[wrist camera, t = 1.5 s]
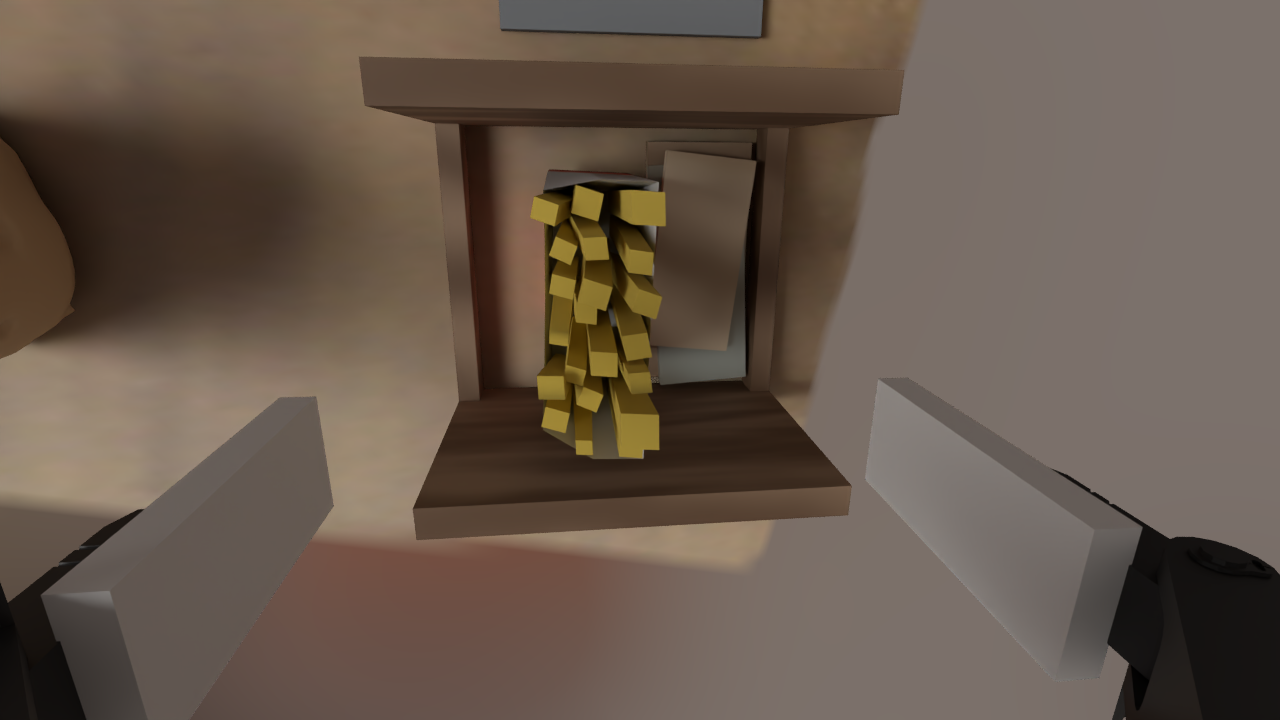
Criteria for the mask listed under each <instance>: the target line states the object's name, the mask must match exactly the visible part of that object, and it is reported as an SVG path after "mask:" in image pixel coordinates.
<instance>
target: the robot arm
mask: <svg viewBox="0 0 1280 720" xmlns="http://www.w3.org/2000/svg"><path fill="white" fill-rule="evenodd" d="M865 480H866V481H867V482H868V483H869V484H870V485H871V486H872V487H873V488H874V489H875V491H877V493H878V494H879V495H880V496H881V497H882V498H883V499H884V500H885V501H886V502H887V503H888V504H889V505H890V506H891V508H892V509H893V510H894V511H895V512H896V513H897V514H898V515H899V516H900V517H901V518H902V519H903V520H904V521H905V523H906V524H907V525H908V526H909V527H910V528H911V529H912V530H913V531H914V532H915V533H916V534H917V535H918V536H919V537H920V538H921V540H922V541H923V542H924V543H925V544H926V545H927V546H928V547H929V548H930V549H931V550H932V551H933V552H934V553H935V555H936V556H937V557H938V558H939V559H940V560H941V561H942V562H943V563H944V564H945V565H946V566H947V567H948V568H949V569H950V571H951V572H952V573H953V574H954V575H955V576H956V577H957V578H958V579H959V580H960V581H961V582H962V583H963V584H964V585H965V586H966V588H967V589H968V590H969V591H970V592H971V593H972V594H973V595H974V596H975V597H976V598H977V599H978V600H979V601H980V602H981V604H982V605H983V606H984V607H985V608H986V609H987V610H988V611H989V612H990V613H991V614H992V615H993V616H994V617H995V618H996V619H997V621H998V622H999V623H1000V624H1001V625H1002V626H1003V627H1004V628H1005V629H1006V630H1007V631H1008V632H1009V633H1010V634H1011V636H1012V637H1013V638H1014V639H1015V640H1016V641H1017V642H1018V643H1019V644H1020V645H1021V646H1022V647H1023V648H1024V649H1025V650H1026V652H1027V653H1028V654H1029V655H1030V656H1031V657H1032V658H1033V659H1034V660H1035V661H1036V662H1037V663H1038V664H1039V665H1040V666H1041V667H1042V669H1044V671H1045V672H1046V673H1047V674H1048V675H1049V676H1050V677H1051V678H1052V679H1053V680H1054V681H1055V682H1058V681H1059V682H1060V681H1071V680H1082V679H1093V678H1099V677H1100V674H1101V670H1102V667H1103V663H1104V660H1105V656H1106V653H1107V649H1108V646H1109V645H1110V646H1111V647H1112V648H1113V649H1114V650H1115V651H1116V652H1117V653H1119V654H1120V655H1121V656H1122V657H1123V658H1124V659H1125V660H1126V661H1127V662H1128V663H1129V666H1128V669H1127V672H1126V676H1125V679H1124V682H1123V685H1122V689H1121V692H1120V696H1119V699H1118V702H1117V705H1116V709H1115V712H1114V715H1113V718H1112V720H1123V718H1124V717H1126V720H1280V574H1279V573H1278V572H1277V571H1276V570H1275V569H1274V568H1273V567H1271V566H1270V565H1268V564H1267V563H1265V562H1264V561H1262V560H1261V559H1259V558H1258V557H1256V556H1253V555H1251V554H1249V553H1247V552H1245V551H1242V550H1240V549H1238V548H1235V547H1232V546H1229V545H1226V544H1222V543H1219V542H1216V541H1212V540H1207V539H1202V538H1195V537H1175V538H1172V539H1169V538H1167V537H1166V536H1164V535H1162V534H1161V533H1159V532H1158V531H1156V530H1154V529H1153V528H1151V527H1150V526H1148V525H1146V524H1145V523H1143V522H1142V521H1140V520H1139V519H1137V518H1135V517H1134V516H1132V515H1131V514H1129V513H1127V512H1125V511H1124V510H1123V509H1121V508H1119V507H1118V506H1116V505H1114V504H1109V501H1108V500H1106V499H1105V498H1103V497H1102V496H1100V495H1099V494H1097V493H1095V492H1091V491H1090V489H1089V488H1087V487H1086V486H1084V485H1083V484H1081V483H1079V482H1078V481H1076V480H1074V479H1073V478H1071V477H1070V476H1068V475H1066V474H1064V473H1061V472H1059V471H1056V470H1054V469H1051V468H1049V467H1047V466H1046V465H1044V464H1043V463H1041V462H1039V461H1038V460H1036V459H1035V458H1033V457H1032V456H1030V455H1028V454H1027V453H1025V452H1024V451H1022V450H1021V449H1019V448H1017V447H1016V446H1014V445H1013V444H1011V443H1010V442H1008V441H1006V440H1005V439H1003V438H1002V437H1000V436H999V435H997V434H995V433H994V432H992V431H991V430H989V429H988V428H986V427H984V426H983V425H981V424H980V423H978V422H976V421H975V420H973V419H972V418H970V417H969V416H967V415H965V414H964V413H962V412H961V411H959V410H958V409H956V408H954V407H953V406H951V405H950V404H948V403H946V402H945V401H943V400H942V399H940V398H939V397H937V396H935V395H934V394H932V393H931V392H929V391H928V390H926V389H925V388H923V387H921V386H920V385H918V384H917V383H915V382H914V381H912V380H910V379H909V378H887V379H886V378H885V379H878V383H877V391H876V398H875V406H874V413H873V421H872V429H871V437H870V444H869V452H868V460H867V467H866V476H865ZM333 506H334V505H333V499H332V492H331V486H330V480H329V474H328V467H327V461H326V455H325V449H324V442H323V436H322V430H321V424H320V417H319V411H318V405H317V399H316V397H285V398H279V399H278V400H276V401H275V402H274V403H273V404H272V405H270V406H269V407H268V408H267V409H265V410H264V411H263V412H262V413H261V414H259V415H258V416H257V417H256V418H255V419H253V420H252V421H251V422H250V423H249V424H247V425H246V426H245V427H244V428H242V429H241V430H240V431H239V432H238V433H236V434H235V435H234V436H233V437H232V438H230V439H229V440H228V441H227V442H225V443H224V444H223V445H222V446H221V447H219V448H218V449H217V450H216V451H215V452H213V453H212V454H211V455H210V456H209V457H207V458H206V459H205V460H204V461H202V462H201V463H200V464H199V465H198V466H196V467H195V468H194V469H193V470H192V471H190V472H189V473H188V474H187V475H186V476H184V477H183V478H182V479H181V480H179V481H178V482H177V483H176V484H175V485H173V486H172V487H171V488H170V489H169V490H167V491H166V492H165V493H164V494H163V495H161V496H160V497H159V498H158V499H156V500H155V501H154V502H153V503H152V504H150V505H149V506H148V507H147V508H146V509H139V510H136V511H134V512H132V513H130V514H129V515H127V516H125V517H123V518H121V519H119V520H117V521H115V522H113V523H111V524H109V525H107V526H105V527H103V528H102V529H101V530H100V531H99V532H97V533H96V534H95V535H93V536H92V537H91V538H90V539H88V540H87V541H86V542H85V543H83V544H82V545H81V546H80V549H79V550H75V551H73V552H72V553H71V554H69V555H68V556H67V557H66V558H64V559H63V560H62V561H60V562H59V566H58V567H53V568H52V569H50V570H49V571H48V572H47V573H45V574H44V575H43V576H42V577H40V578H39V579H38V580H36V581H35V582H34V583H33V584H31V585H30V586H29V587H28V588H26V589H25V590H24V591H23V592H21V593H20V594H19V595H18V596H16V597H15V598H14V599H12V600H11V601H10V602H9V603H7V600H6V597H5V594H4V592H3V589H2V586H1V583H0V720H189V719H190V718H191V716H192V715H193V713H194V712H195V711H196V709H197V707H198V706H199V705H200V703H201V702H202V700H203V698H204V697H205V695H206V694H207V693H208V691H209V690H210V688H211V687H212V685H213V684H214V682H215V681H216V679H217V678H218V677H219V675H220V674H221V672H222V671H223V669H224V668H225V666H226V665H227V663H228V662H229V660H230V659H231V657H232V656H233V654H234V653H235V651H236V650H237V648H238V647H239V645H240V644H241V642H242V641H243V639H244V638H245V636H246V635H247V634H248V632H249V631H250V629H251V627H252V626H253V625H254V623H255V622H256V620H257V619H258V617H259V616H260V614H261V613H262V611H263V610H264V608H265V607H266V605H267V604H268V602H269V601H270V599H271V598H272V596H273V595H274V594H275V592H276V590H277V589H278V588H279V586H280V584H281V583H282V581H283V580H284V579H285V577H286V576H287V574H288V573H289V571H290V570H291V568H292V567H293V565H294V564H295V562H296V561H297V559H298V558H299V556H300V555H301V553H302V552H303V551H304V549H305V547H306V546H307V544H308V543H309V542H310V540H311V539H312V537H313V536H314V534H315V533H316V531H317V530H318V528H319V527H320V525H321V524H322V522H323V521H324V519H325V518H326V516H327V515H328V513H329V512H330V511H331V509H332V508H333Z"/></svg>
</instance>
